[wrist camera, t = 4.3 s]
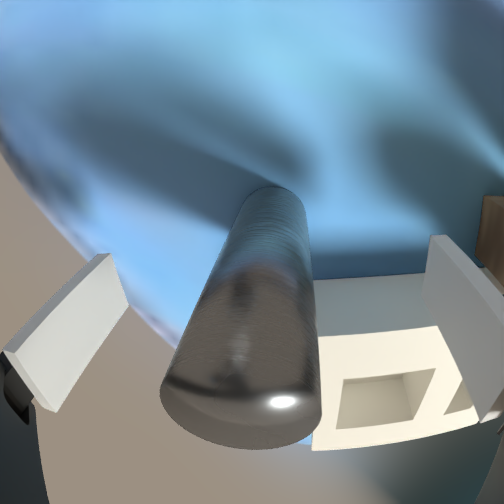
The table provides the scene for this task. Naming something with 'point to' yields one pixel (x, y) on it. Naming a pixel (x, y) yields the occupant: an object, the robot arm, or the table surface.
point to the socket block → (384, 364)
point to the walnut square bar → (492, 236)
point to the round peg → (252, 335)
